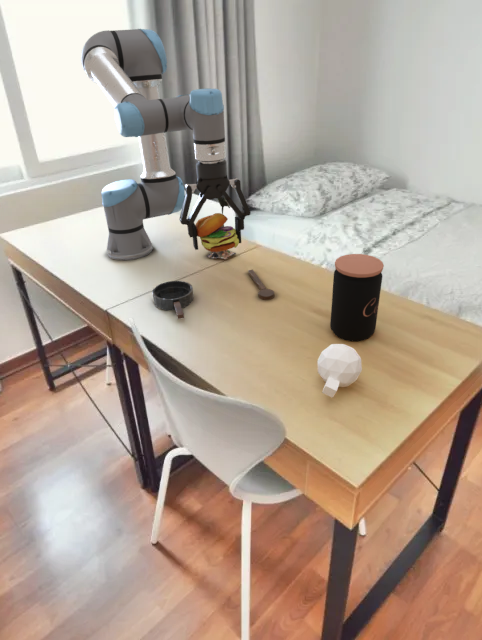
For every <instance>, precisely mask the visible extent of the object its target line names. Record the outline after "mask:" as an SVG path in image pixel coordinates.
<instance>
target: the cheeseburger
mask: <svg viewBox="0 0 482 640" xmlns="http://www.w3.org/2000/svg"><path fill="white" fill-rule="evenodd" d="M228 219H229V218H228V217H227V216H226V215H224V213H223V214H222V212H216V213H213V214H210V215H207V216H204V217H201V218H200V219H198V220H197V221H196V223H195V225H196V231H197V238H198V237H199V239H200V243H201V246H202V247H203V246H204V247H203V248H204V249H205V250H206V251H208V252H211V253H212V252H219V251H224V250H231V249H233V248H234V249H236V248H237V247H238V246H239V245H240V243H239V239H238V238H237V234H236V230H235V227H234V226H232V225H226V226H225V224H226V222H228ZM223 225H224V227H222V226H223Z"/></svg>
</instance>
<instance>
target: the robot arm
mask: <svg viewBox="0 0 482 640" xmlns="http://www.w3.org/2000/svg"><path fill="white" fill-rule="evenodd" d="M80 56H81V57H80V61H81V66H82V69H83V71H84V73H85V74H86V76H87V78H89V80H91V81H92V82H93V83H95V84H97V85H98V86H99V87H100V89H101V90H102V92H103V93H104V95H105V96H106V97H107V99H108V101H109V102H110V103H111V104H112V106H113V107H114V110H113V115H114V122H115V125H116V128H117V130H118V133H119V135H121V137H123V138H137V139H138V142H139V148H140V154H141V160H142V166H143V172H142V174H141V175H140V182H137V181H136V180H135V179H131V178H128V179H120V180H116V181H113V182H111V183H109V184H107V185H105V186H104V187H103V188H102V190H101V201H102V202H101V203H102V206H103V210H104V214H105V215H104V216H105V220H106V225H107V230H108V237H107V245H106V252H107V256H108V258H110V259H112V260H116V261H133V260H138V259H141V258H144V257H147V256H148V255H150V254H151V253H152V252H153V249H154V248H153V242H152V241H151V239H150V237H149V235H148V233H147V230H146V229H145V226H144V225H145V224H144V220H148V219H153V218H157V217H162V216H166V215H168V216H170V215H172V214H175V213H178V212H180V214H179V222H180V224H181V225H182V226H184V225H186V226H187V234H188V236H189V238H192V245H193V248H194V250H195V251H197V250H198V251H199V241H198V236H197V231H196V223H195V221H196V219H197V218H198V216H199V214H200V212H201V210H202V208H203V206H204V204H205V203H206V202H207V200H208V201H209V200H210V201H211V200H215V199H217V200H218V199H219V198H221V197H222V196H223V197H224V198H225V200H226V201H227V202H228V205H229V207H230V208H231V209H232V210H233V211H234V212H235V214H236V216H234V229H235V230H236V234H237V238H238V239H239V244H242V231H244V230H245V218H246V217H247V216H248V217H249V216H251V214H252V212H251V210H250V208H249V205H248V202H247V200H246V198H245V196H244V193H243V191H242V187H241V184H242V183H241V180H240V179H239V178H238V177H233V179H229V178H228V164H227V163H228V162H227V160H226V158H227V150H226V136H225V135H226V133H225V132H226V131H225V111H224V110H225V105H224V102H223V93H222V91H221V90H220V89H219V88H198V89H197V88H196V89H193V90H191V91H190V93H189V94H179V95H177V96H174V97H166V98H165V97H164V98H161V95H160V89H159V86H160V84H161V83H162V82H163V74H165V73H166V72H167V69H168V65H167V64H168V60H167V54H166V50H165V46H164V44H163V41H162V39H161V37H160V35H159V34H158V33H157V32H156V31H154V30H153V29H150V28H149V29H148V28H147V29H146V28H134V29H133V28H132V29H117V30H101V31H99V32H96V33H94V34H93V35H91V36H90V37H89V38H88V39H87V40H86V42H85V43H84V45H83V47H82V50H81V54H80ZM187 130H188V131H189V130H190V131H192V139H193V148H194V159H195V160H196V162H195V169H196V170H195V171H196V182H195V183H188V182H187V183H185V184H184V182H183V180H182V178H181V177H180V176H178V175H177V173H176V171H175V170H174V169H172V168H171V164H170V163H171V162H170V157H169V150H168V143H167V142H168V141H167V136H166V133H174V132H180V131H187ZM230 186H231V187H232V188H233V189H234V191H235V194H236V197H237V200H238V201H239V204H240V206H241V208H242V210H240V208H239V207H238V206H237V204H236V203H235V202H234V200H233V199H232V198H231V196H230V195H229V194H228V192H227V190H228V189H229V187H230ZM196 190H198V192H199V194H198V197H197V199H196V202H195V203H194V205H193V207H192V209H191V211H190V213H189V210H190V207H191V202H192V198H193V194H194V193H195V191H196Z"/></svg>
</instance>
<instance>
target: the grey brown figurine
mask: <svg viewBox="0 0 482 640" xmlns="http://www.w3.org/2000/svg"><path fill="white" fill-rule="evenodd" d="M217 200H218V203H219V205H220V207H221V214H223V215H224V208H225V207H228V209H230V208H231V206H230V205H229V204H228V202H227V201H226V200H225V198H224V197H223V196H222V197H221V198H219V199H217ZM222 227H225V224H224V225H223V226H222ZM202 247H203V248H204V246H203V245H202ZM236 254H237V253H236V252H234V251H233V252H232V251H230V249H228V250H224V251H219V252H211V253H209V254H207V255H206V257H207V258H210V259H217V258H218V259H224V260H228V259H229V257H231V256H234V255H236Z"/></svg>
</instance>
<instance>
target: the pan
mask: <svg viewBox="0 0 482 640" xmlns="http://www.w3.org/2000/svg"><path fill="white" fill-rule="evenodd" d="M151 293H152V300H153V304H154V305H155V307H156V308H158V309H160V310H162V311H163V310H164V311H175V308H174V304H173V302H178V301H179V302H180V305H181V308H182V309H185V308H187V307H188V306H190V305H191V304H192V303H193V302H194V299H195V296H194V295H195V294H194V287H193V285H192V284H191V283H190V282H187V281H183V280H171V281H166V282H162V283H160V284H158V285H156V286H155V287H153V289H152V292H151Z"/></svg>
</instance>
